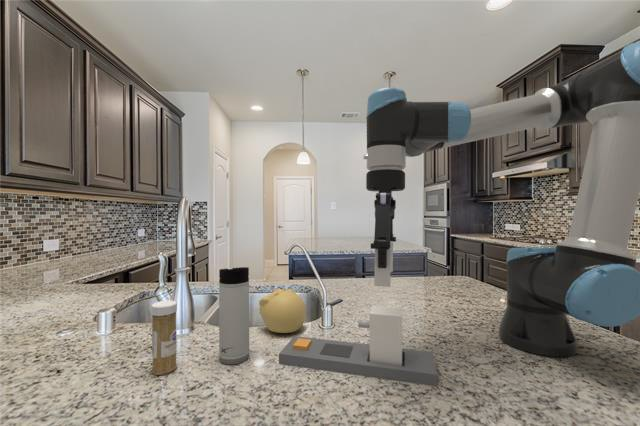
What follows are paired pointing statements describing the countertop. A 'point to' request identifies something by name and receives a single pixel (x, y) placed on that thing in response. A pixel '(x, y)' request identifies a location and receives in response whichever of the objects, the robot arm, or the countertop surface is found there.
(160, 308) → the sprinkles bottle
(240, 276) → the travel mug
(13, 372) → the countertop surface
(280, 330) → the tan round potato
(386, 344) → the block
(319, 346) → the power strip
